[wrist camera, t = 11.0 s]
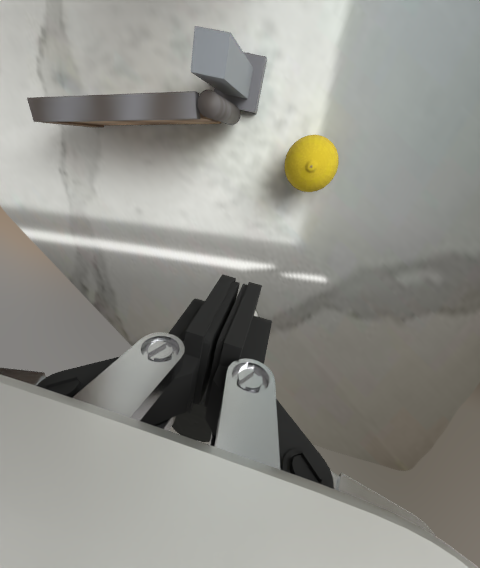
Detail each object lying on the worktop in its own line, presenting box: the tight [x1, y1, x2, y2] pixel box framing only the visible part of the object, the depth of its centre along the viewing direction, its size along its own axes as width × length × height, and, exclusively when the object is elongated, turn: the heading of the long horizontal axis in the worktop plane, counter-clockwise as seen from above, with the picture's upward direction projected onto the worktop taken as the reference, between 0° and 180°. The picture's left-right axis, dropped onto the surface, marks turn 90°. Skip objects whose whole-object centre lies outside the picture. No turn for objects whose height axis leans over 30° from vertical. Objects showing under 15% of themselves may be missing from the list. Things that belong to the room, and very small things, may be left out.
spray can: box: [172, 310, 258, 442], centre depth 36 cm, size 7×7×20 cm
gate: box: [27, 90, 240, 127], centre depth 29 cm, size 20×2×9 cm, turn 90°
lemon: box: [285, 135, 338, 192], centre depth 29 cm, size 6×6×8 cm
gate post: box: [191, 26, 267, 113], centre depth 26 cm, size 5×5×11 cm
